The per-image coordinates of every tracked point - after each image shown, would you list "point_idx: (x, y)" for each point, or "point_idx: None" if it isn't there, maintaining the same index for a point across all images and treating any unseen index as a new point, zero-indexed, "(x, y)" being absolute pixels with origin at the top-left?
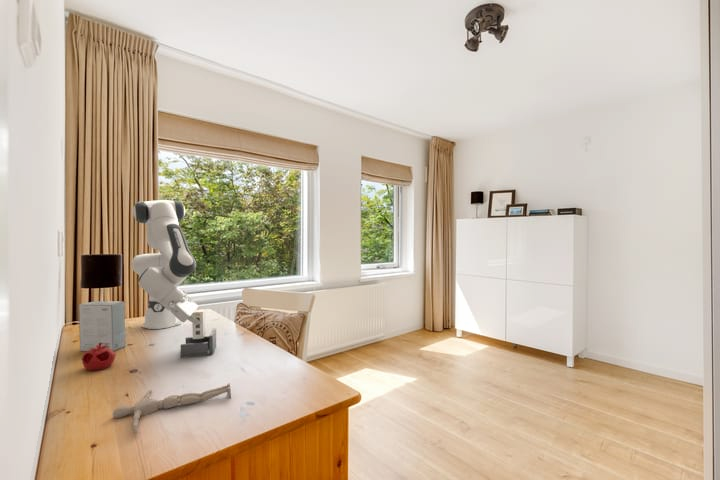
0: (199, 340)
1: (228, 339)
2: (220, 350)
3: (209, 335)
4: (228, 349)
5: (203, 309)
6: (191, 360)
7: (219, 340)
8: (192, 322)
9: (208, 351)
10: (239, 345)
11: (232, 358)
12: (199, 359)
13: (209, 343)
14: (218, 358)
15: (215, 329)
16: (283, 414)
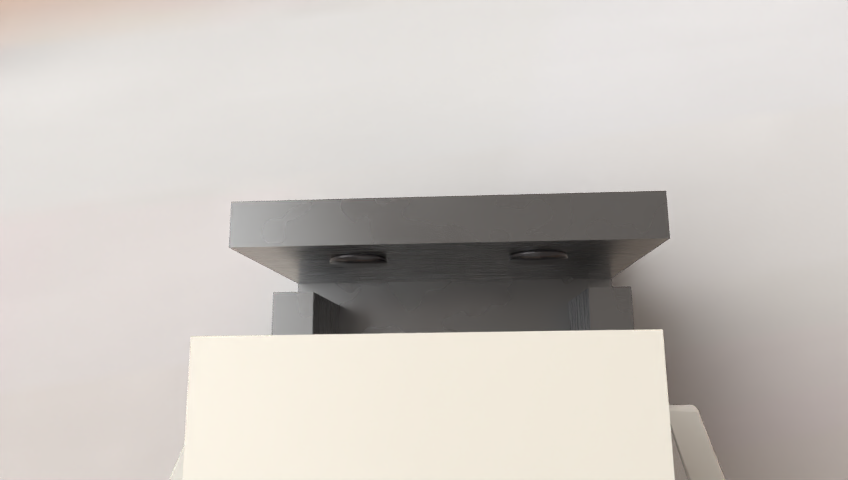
0: None
1: (77, 157)
2: (464, 190)
3: (657, 237)
4: (452, 111)
5: (205, 381)
6: (743, 455)
7: (79, 253)
8: None
9: (560, 298)
10: (344, 17)
11: (759, 37)
12: (726, 370)
13: (637, 259)
14: (732, 173)
15: (303, 200)
16: None
